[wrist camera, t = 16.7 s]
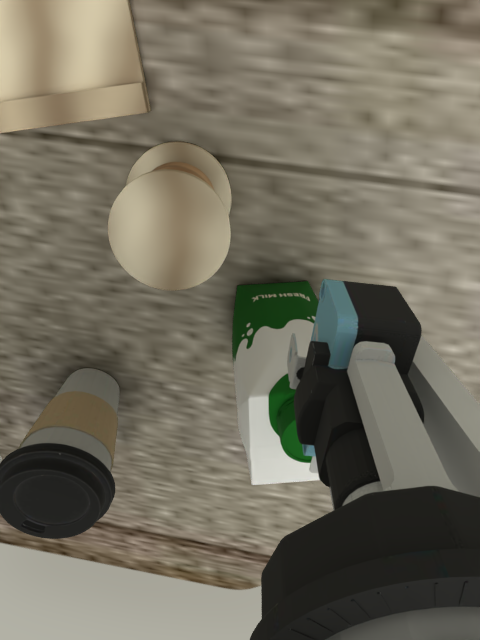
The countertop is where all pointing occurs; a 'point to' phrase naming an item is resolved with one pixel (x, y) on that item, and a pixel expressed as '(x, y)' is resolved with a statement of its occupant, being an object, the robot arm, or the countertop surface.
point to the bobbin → (172, 217)
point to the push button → (371, 490)
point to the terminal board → (68, 63)
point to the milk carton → (271, 376)
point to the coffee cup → (64, 461)
